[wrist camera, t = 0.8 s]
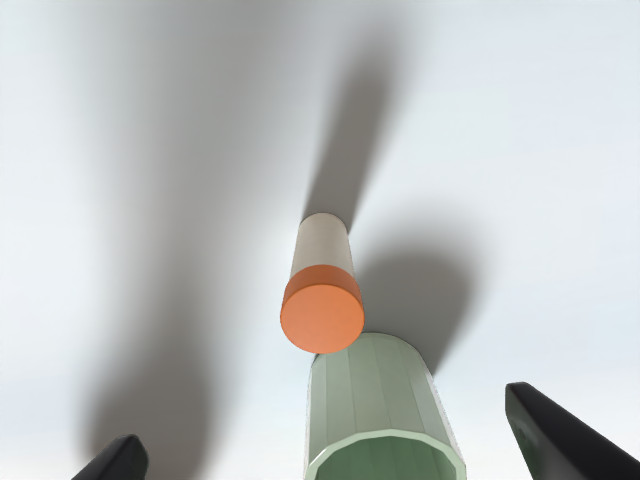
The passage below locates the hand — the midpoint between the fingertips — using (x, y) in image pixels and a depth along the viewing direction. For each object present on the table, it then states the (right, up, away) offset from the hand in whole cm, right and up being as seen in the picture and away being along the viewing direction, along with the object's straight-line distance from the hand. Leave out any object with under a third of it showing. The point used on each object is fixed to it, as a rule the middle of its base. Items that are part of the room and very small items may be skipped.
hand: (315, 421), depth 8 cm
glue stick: (0, +5, +11) cm, 12 cm away
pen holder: (+3, -5, +15) cm, 17 cm away
